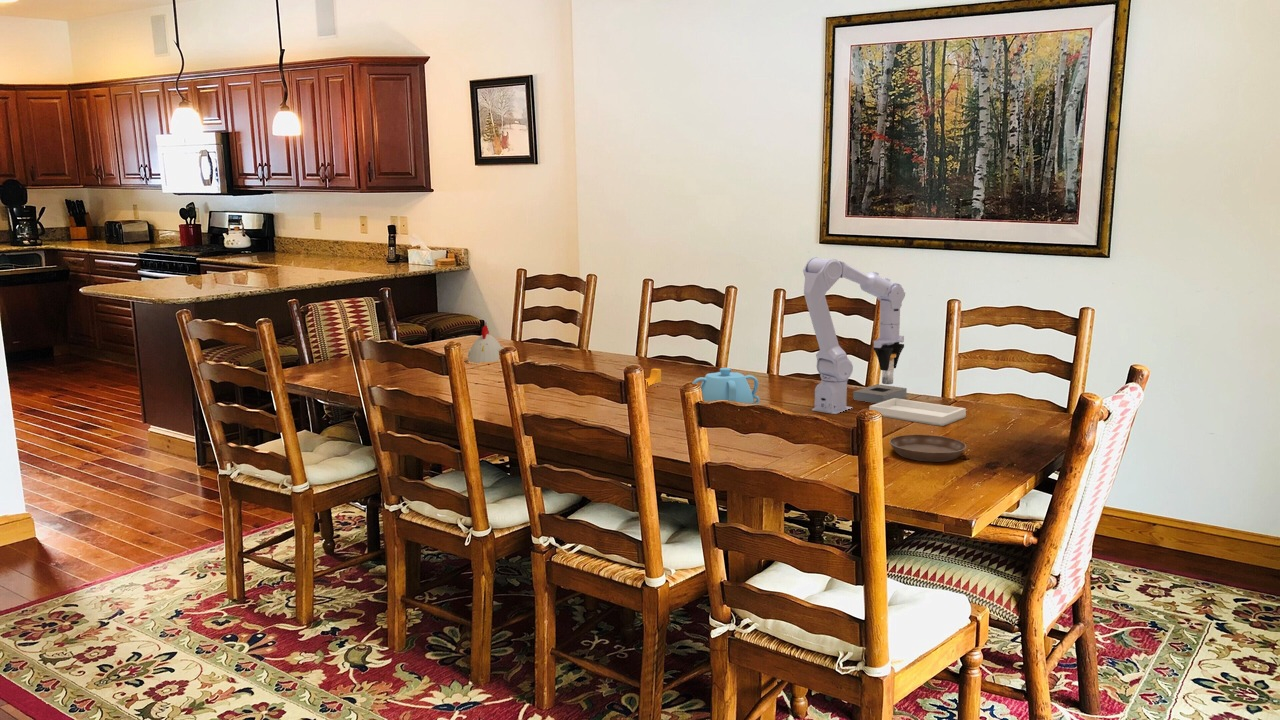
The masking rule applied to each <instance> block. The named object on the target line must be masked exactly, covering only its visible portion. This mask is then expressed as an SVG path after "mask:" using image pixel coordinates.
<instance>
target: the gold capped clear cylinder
mask: <svg viewBox="0 0 1280 720" xmlns="http://www.w3.org/2000/svg"><path fill="white" fill-rule="evenodd" d="M895 357H896V353H894V352H892V353H891V356H890V362H889V368H888V371H884V370H881V371H882V372H881V373H882V376H881V384H882V385H893V384H894V372H895V371H894V369H895V368H894V358H895Z"/></svg>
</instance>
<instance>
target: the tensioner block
mask: <svg viewBox="0 0 1280 720" xmlns="http://www.w3.org/2000/svg"><path fill="white" fill-rule="evenodd" d="M852 392H853V394H852V395H853V396H852V400H853V399H854V400H859V401H865V402H871V403H870V404H872V403H876V404H877V403H880V402H883V401H886V400H890V399H893V398H897V399H904V400H905V399H907V392H908V391H907V387H901V386H894V385H888V384H873V385H869V386H865V387H864V388H859V389H856V390H853V391H852ZM859 401H858V402H859ZM865 402H864V403H865Z"/></svg>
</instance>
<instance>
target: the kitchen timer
mask: <svg viewBox="0 0 1280 720" xmlns="http://www.w3.org/2000/svg"><path fill="white" fill-rule="evenodd" d="M501 349H504V346H501V344H500V342H499V341H498V340H497V339H496V338H495V337H494V336H493V335H490V330H489V328H488V325H484V326H483V327H482V331H481V335H480V336H478V337H477V338H476V339H475V341H474V342H473V344H472V345H471V347H470V348H468V352H467V353H468V354H467V362H468V361H470V362H474V363H480V362H493V361H497V360H498V362H499V351H500V350H501Z"/></svg>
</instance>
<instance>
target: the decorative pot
mask: <svg viewBox="0 0 1280 720" xmlns="http://www.w3.org/2000/svg"><path fill="white" fill-rule="evenodd" d="M747 380H753V381H754V385H753V388H752V389H751V387H750V383H748V381H747ZM698 382H701V384H700V386H699V388H700V387H701V389H702V394H703V400H704V401H715V400H728V401H736V402H742V403H758V404H759V403H760V401H761V399H760V397H759V396H758V395H756V394H757V391H758V388H759V380H758V378H757V377H755V376H754V375H750V374H748V375H747V374H745V375H744V374H743V373H741V372H733V371H732V368H731V367H720V368H719V371H716V372H711V373H710V372H709V373H706V374H705V376H704V377H702V376H701V377H697V378H695V379H694V380H693V382H692V384H696V385H697V383H698ZM692 384H691V385H692ZM754 399H756V400H754Z"/></svg>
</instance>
